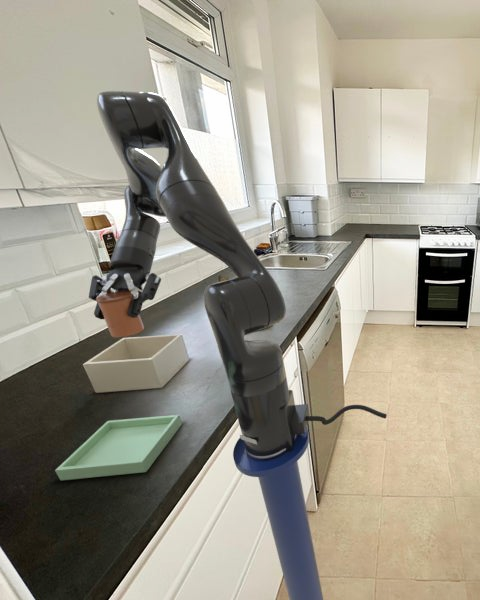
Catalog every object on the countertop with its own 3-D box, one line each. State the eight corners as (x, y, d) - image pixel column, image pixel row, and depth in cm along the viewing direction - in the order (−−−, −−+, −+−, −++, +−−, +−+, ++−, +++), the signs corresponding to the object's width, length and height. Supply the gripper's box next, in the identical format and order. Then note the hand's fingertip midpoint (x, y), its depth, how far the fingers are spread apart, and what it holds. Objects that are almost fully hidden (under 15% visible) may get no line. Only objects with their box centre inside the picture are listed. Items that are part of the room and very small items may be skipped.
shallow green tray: (182, 423, 63) (179, 414, 62) (146, 472, 52) (141, 462, 51) (111, 429, 61) (107, 420, 61) (60, 480, 51) (54, 470, 50)
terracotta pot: (151, 324, 76) (139, 290, 73) (133, 337, 70) (119, 300, 67) (123, 326, 76) (110, 291, 72) (103, 338, 70) (87, 301, 67)
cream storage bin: (189, 359, 85) (182, 334, 83) (162, 387, 74) (151, 359, 71) (132, 363, 84) (123, 337, 81) (95, 393, 72) (82, 364, 70)
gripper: (90, 246, 72) (65, 313, 66) (156, 243, 74) (138, 309, 67) (115, 262, 79) (95, 324, 73) (174, 260, 81) (160, 321, 74)
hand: (116, 317), depth 70 cm, fingers closed on terracotta pot, 6 cm apart
